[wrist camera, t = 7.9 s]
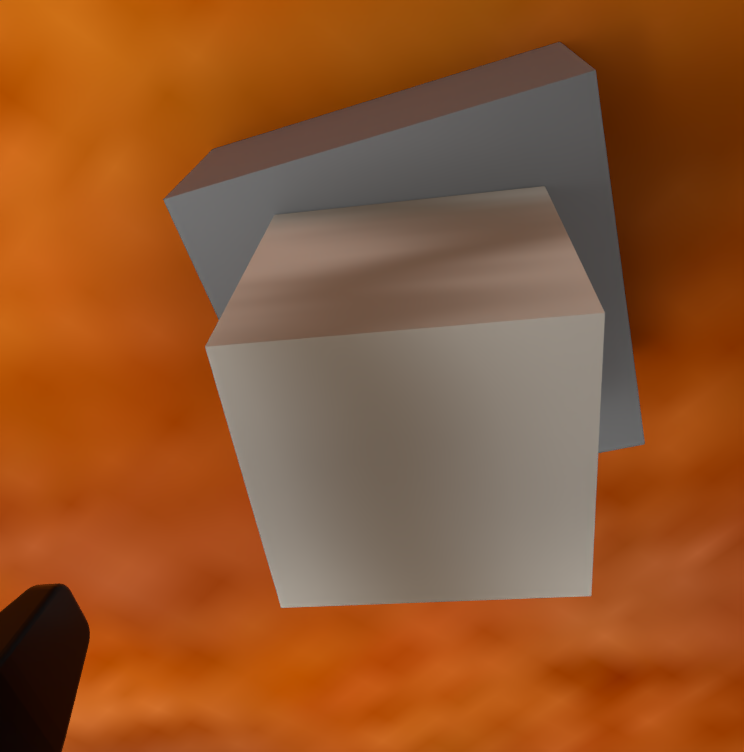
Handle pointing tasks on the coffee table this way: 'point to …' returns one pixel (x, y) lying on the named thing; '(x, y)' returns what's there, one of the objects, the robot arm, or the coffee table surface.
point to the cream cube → (417, 401)
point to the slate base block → (432, 181)
